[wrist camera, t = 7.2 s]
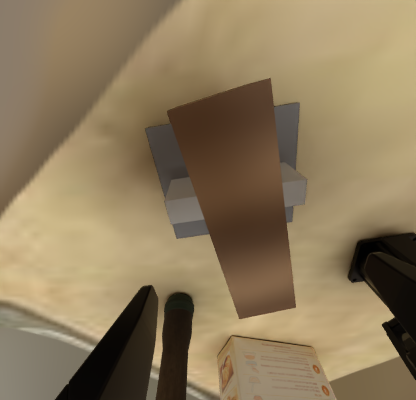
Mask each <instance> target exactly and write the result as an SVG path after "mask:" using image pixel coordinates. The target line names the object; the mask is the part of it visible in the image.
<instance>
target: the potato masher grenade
mask: <svg viewBox="0 0 416 400" xmlns="http://www.w3.org/2000/svg"><path fill="white" fill-rule="evenodd" d="M193 313H194V305H193V302H192V300H191V298H190V297H189V296H187V295H185V294H175V295H173V296H171V297H170V298H169V299H168V301H167V302H166V304H165V308H164V325H163V332H162V342H163V352H162V359H161V366H160V373H159V380H158V387H157V394H156V400H186V387H187V363H188V349H189V344H190V339H191V334H192V318H193Z"/></svg>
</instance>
